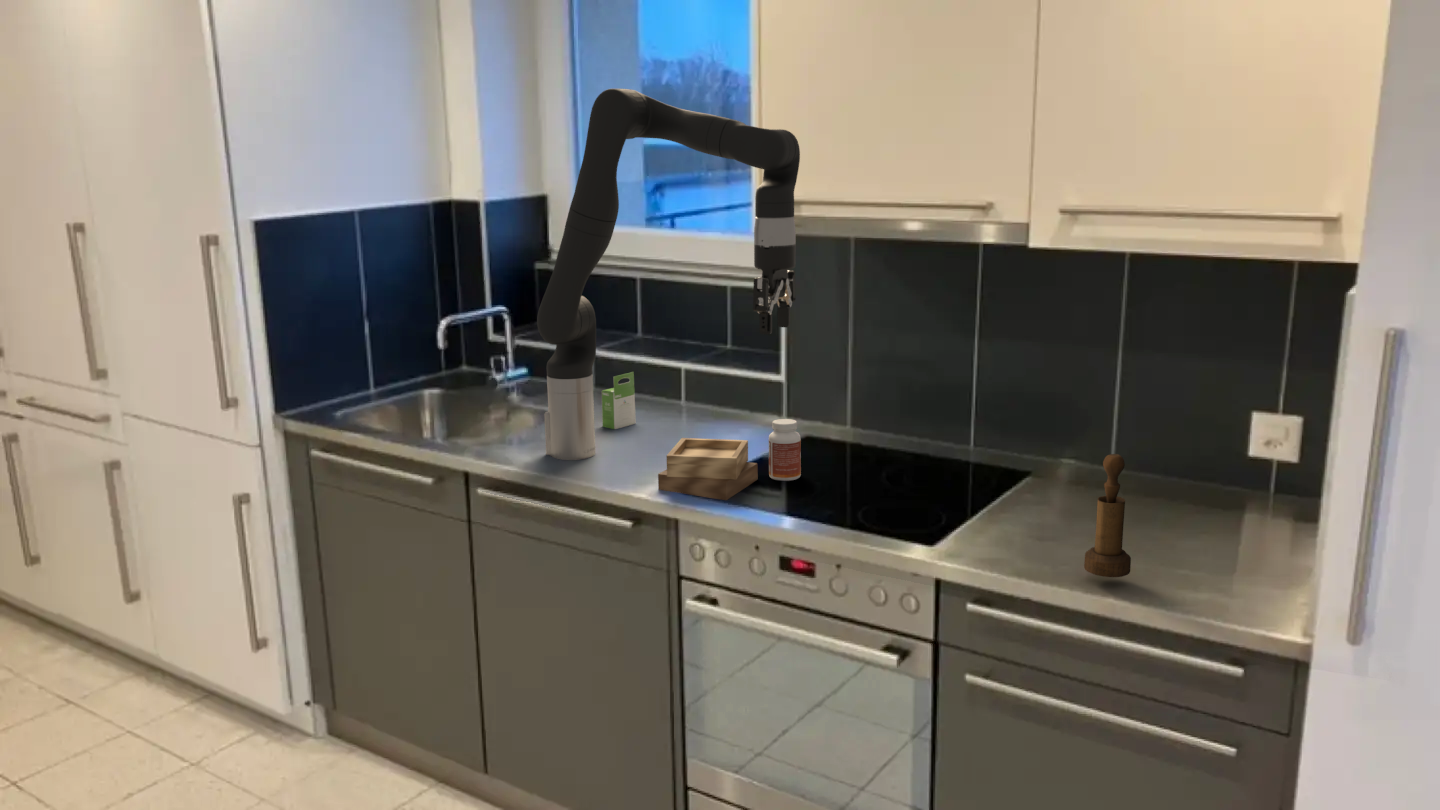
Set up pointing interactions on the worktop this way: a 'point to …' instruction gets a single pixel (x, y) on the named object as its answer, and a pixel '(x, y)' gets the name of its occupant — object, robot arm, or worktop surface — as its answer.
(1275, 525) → the worktop surface
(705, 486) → the tower base
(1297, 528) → the worktop surface
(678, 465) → the tower top
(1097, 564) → the mortar and pestle
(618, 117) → the robot arm
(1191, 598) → the worktop surface
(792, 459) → the pill bottle
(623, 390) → the ink box
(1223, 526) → the worktop surface
